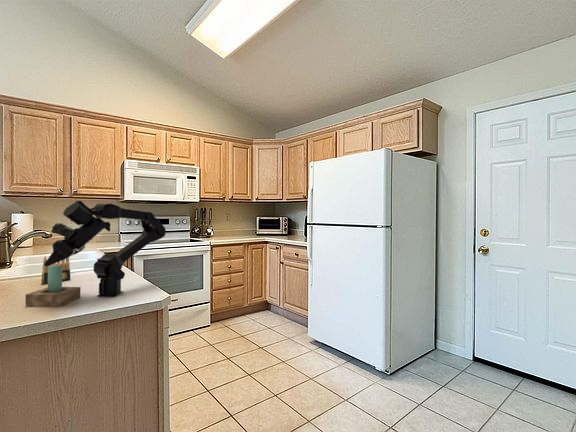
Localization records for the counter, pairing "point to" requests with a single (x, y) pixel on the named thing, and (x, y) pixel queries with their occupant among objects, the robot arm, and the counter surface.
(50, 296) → the socket block
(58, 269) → the peg
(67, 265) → the ammunition clip
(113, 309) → the counter surface
